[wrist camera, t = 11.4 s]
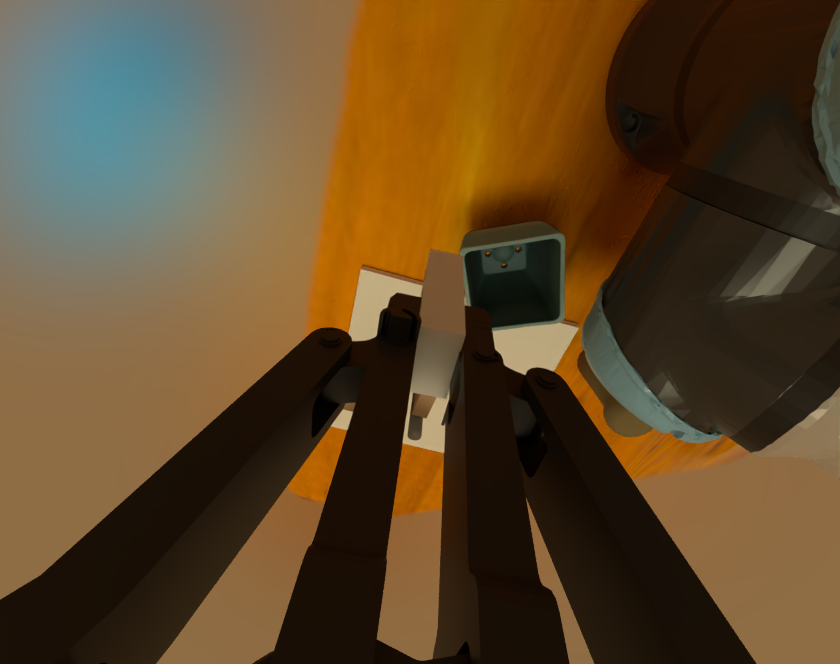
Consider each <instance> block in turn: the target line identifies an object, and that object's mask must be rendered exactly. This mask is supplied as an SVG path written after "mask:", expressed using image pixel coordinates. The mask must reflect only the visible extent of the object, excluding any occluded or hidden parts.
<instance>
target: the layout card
mask: <svg viewBox="0 0 840 664" xmlns="http://www.w3.org/2000/svg"><path fill="white" fill-rule="evenodd" d="M422 286H423V282H422V281H418V280H414V279H411V278H407V277H403V276H399V275H396V274H392V273H388V272H385V271H381V270H377V269H374V268H370V267H366V266H362V268H361V271H360V276H359V282H358V287H357V292H356V297H355V302H354V308H353V313H352V318H351V323H350V328H349V333H348V334H349V335H350V336H351V338H352V341H365V340H369V339H372V338H374V337H376V336H377V330H378V323H379V317H380V312H381V311H382V310H383V309H385V308H387V307H388V303H389V300H390V297H392V296H393V295H394V294H396V293H397V292H398V293H403V294H408V295H412V296H417V297H420V296H421V291H422ZM464 303H465V305H466V306H467V303H466V296H465V293H464ZM578 329H579V327H578V325H577V323H573V322H569V321H566V320H563V321H562V322H560V323H557V324H549V325H539V326H530V327H521V328H513V329H506V330H499V331H492V332H493V339H494V345H495V350H497V351H498V352H499V353H500V354H501V356H502V358H503V362H504V365H505V366H507V367H508V368H510V369H512V370H514V371H517V372H519V373H521V374H524V375H526V372H527V370H529V369H531V368H536V367H539V368H545V369H548V370H551V371H554V370H555V368H556V366H557V364H558V363H559V361H560V359H561V358H562V356H563V354H564V352H565V351H566V349H567V347H568V346H569V344H570V342H571V340H572V339H573V337H574V335H575V334H576V332H577V330H578ZM412 395H413V393H412V392H410V395H409V402H408V411H407V415H406V422H405V429H404V436H403V443H404V444H408V445H412V446H416V447H421V448H425V449H429V450H433V451H438V452H442V453H444V444H445V425H444V426H442V425H441V423H442V420H443V417H444V414H445V410H446V407H447V404H448V400H449V392H448V396H447V399H443V398H438V397H436V399H435V402H434V404H433V406H432V408H431V410H430V412H429V414H428V416H427V418H423V424H422V435H421V438H420V439H419V440H411V439H409V438H408V436H407V434H408V426H409V419H410V411H411V403H412ZM352 414H353V412H352V411H348V410H342V411H341V413H340V414H339V415H338V417H337V418H336V420H335V421H334V422H333V424H332V425H331V426H332V427H336V428H340V429H344V430H348V427H349V423H350V420H351V417H352Z"/></svg>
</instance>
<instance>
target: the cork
mask: <svg viewBox="0 0 840 664" xmlns="http://www.w3.org/2000/svg"><path fill="white" fill-rule="evenodd" d="M578 368H579V371H580V372H581V374H582V375H583V377H584V378H585V380H586V381H587V382H588V384H589V385H590V387H591V388H592V390H593V391H594V393H595V394H596V395H597V397H598V398H599V400H600V401H601V403H602V404H603V406H604V411H603V413H604V418H605V420H606V423H607V425H608V426H609V427H610V428H611V429H612V430H613V431H614V432H616V433H617V434H620V435H622V436H626V437H636V436H640V435H644V434H646V433H648V432H650V431H651V430H652V429H653V428H652V427H651V426H649V425H648V424H646V423H644V422H643V421H641V420H640V419H639V418H637V417H636V416H635V415H633V414H632V413H631V412H629V411H628V410H627V409H626V408H625V407H623V406H622V405H621V404H620V403H619V402H618V401H617V400H616V399H615V398H614V397H613V396H612V395H611V394H610V393H609V392H608V391H607V390H606V389H605V387H604V386H603V385H602V384H601V382H600V381H599V380H598V378H597V377H596V376H595V374H594V373H593V371H592V369H591V367H590V365H589V364H588V362H587V360H586V357H585V351H584V350H583V352H582V353H581V354H580V356H579V358H578Z"/></svg>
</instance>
